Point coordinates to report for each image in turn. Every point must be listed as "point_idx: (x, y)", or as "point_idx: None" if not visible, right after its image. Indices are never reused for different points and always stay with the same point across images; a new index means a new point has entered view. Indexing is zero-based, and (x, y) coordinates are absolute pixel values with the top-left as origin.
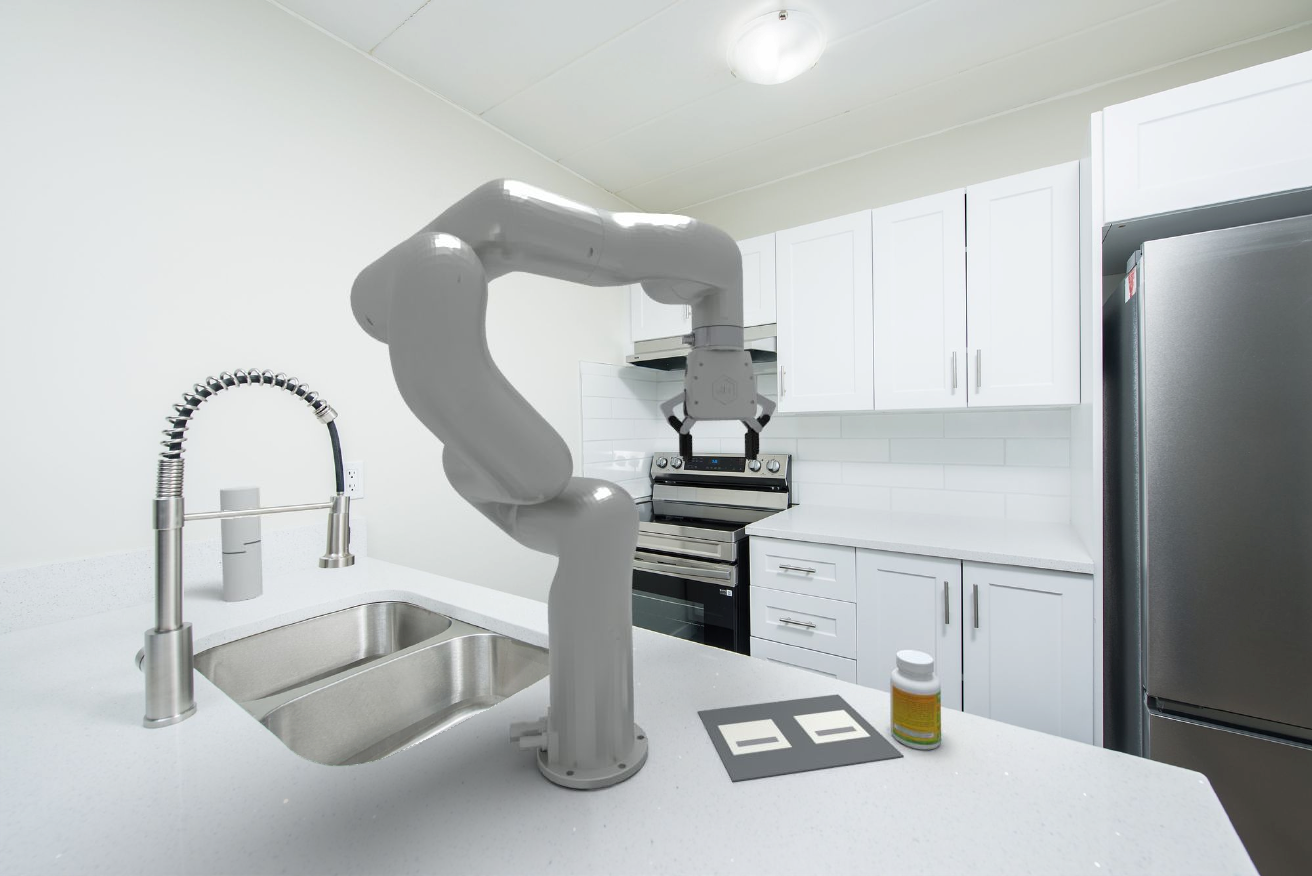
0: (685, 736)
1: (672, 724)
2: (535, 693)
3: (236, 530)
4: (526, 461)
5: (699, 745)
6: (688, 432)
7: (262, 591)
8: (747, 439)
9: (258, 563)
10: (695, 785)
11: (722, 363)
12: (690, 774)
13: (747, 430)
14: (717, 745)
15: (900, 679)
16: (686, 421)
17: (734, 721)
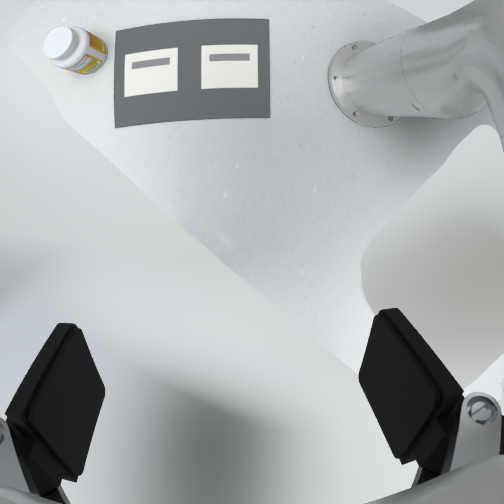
0: (291, 83)
1: (299, 104)
2: (405, 194)
3: None
4: None
5: (282, 67)
6: (445, 422)
7: (501, 383)
8: (71, 435)
9: None
10: (298, 24)
11: None
12: (299, 36)
13: (61, 479)
14: (267, 60)
15: (83, 37)
16: (497, 450)
17: (238, 92)
